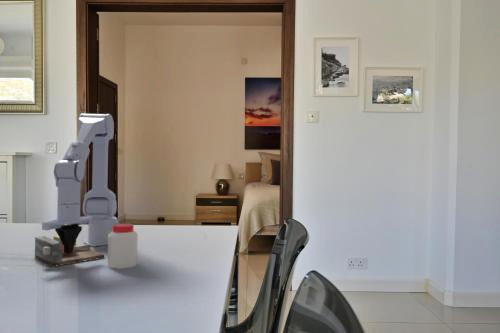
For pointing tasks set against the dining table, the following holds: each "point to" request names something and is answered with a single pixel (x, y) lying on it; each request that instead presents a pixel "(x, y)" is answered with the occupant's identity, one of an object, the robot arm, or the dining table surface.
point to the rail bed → (57, 257)
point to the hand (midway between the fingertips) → (68, 252)
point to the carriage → (60, 240)
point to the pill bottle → (122, 246)
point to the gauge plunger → (50, 250)
